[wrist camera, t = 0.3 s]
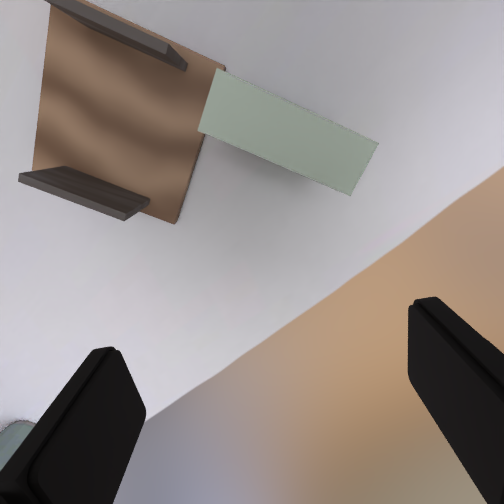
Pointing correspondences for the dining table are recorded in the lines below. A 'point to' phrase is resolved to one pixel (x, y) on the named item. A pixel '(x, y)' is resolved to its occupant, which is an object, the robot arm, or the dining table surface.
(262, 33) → the dining table surface
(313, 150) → the book
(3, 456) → the disposable coffee cup
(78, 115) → the bookshelf board
